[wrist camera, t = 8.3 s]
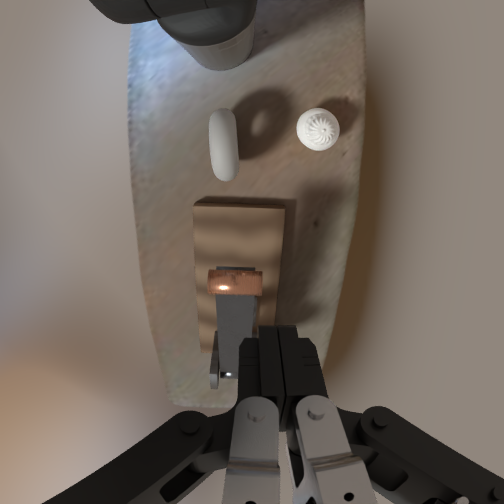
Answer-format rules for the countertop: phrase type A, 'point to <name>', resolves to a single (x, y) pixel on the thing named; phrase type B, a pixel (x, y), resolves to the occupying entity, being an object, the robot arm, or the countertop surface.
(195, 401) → the countertop surface
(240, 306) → the lever
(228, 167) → the donut
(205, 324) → the cracker base
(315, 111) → the white rounded bulbous piece
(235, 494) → the robot arm
